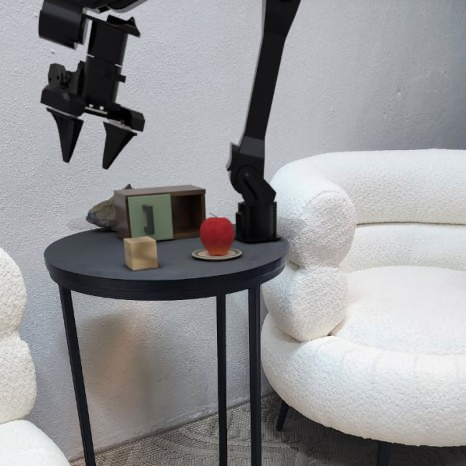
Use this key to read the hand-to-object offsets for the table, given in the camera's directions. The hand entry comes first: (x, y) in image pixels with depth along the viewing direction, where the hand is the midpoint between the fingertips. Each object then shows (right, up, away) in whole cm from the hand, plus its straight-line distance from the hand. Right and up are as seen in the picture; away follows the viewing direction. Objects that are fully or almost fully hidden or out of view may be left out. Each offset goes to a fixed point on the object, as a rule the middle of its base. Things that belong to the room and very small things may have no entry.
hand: (85, 165), depth 116 cm
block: (+11, -20, -9) cm, 25 cm away
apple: (+22, -17, -4) cm, 28 cm away
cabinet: (+12, -7, +12) cm, 18 cm away
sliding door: (+11, -11, +6) cm, 16 cm away
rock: (+1, -3, +20) cm, 20 cm away
